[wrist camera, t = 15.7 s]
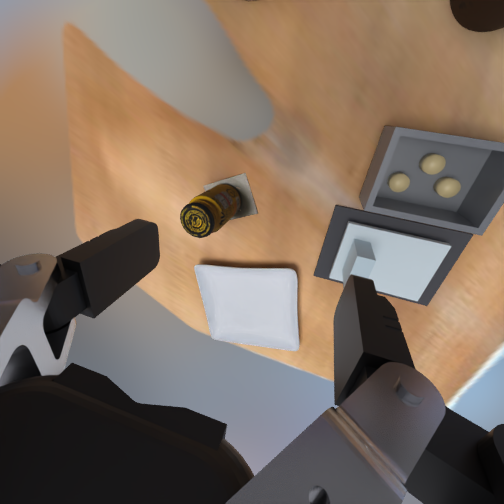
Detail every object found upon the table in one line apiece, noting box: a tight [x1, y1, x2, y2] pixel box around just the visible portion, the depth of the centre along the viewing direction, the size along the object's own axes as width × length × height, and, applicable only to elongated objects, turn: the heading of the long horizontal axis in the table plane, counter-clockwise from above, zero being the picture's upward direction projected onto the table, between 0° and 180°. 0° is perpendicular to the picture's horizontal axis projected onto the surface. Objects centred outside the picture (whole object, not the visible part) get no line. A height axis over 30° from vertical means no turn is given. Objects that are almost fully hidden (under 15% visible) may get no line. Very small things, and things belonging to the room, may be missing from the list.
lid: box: [329, 221, 451, 301], centre depth 38 cm, size 15×11×8 cm
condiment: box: [180, 173, 258, 238], centre depth 40 cm, size 7×8×12 cm
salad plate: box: [194, 264, 299, 351], centre depth 53 cm, size 21×21×3 cm
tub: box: [359, 126, 504, 235], centre depth 32 cm, size 14×10×7 cm
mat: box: [314, 205, 473, 306], centre depth 42 cm, size 14×20×1 cm
